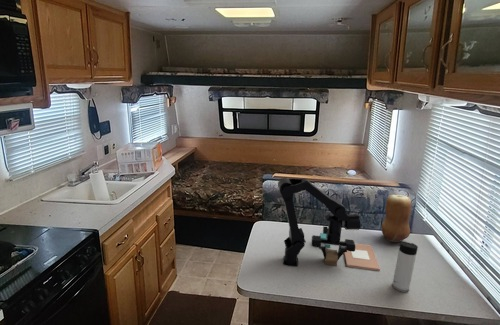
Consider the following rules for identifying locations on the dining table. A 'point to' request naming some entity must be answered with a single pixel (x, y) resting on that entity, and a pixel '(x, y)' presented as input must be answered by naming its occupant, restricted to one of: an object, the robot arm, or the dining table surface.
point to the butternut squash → (397, 218)
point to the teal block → (323, 236)
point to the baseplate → (362, 258)
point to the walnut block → (331, 257)
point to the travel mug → (404, 266)
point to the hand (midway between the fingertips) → (330, 259)
